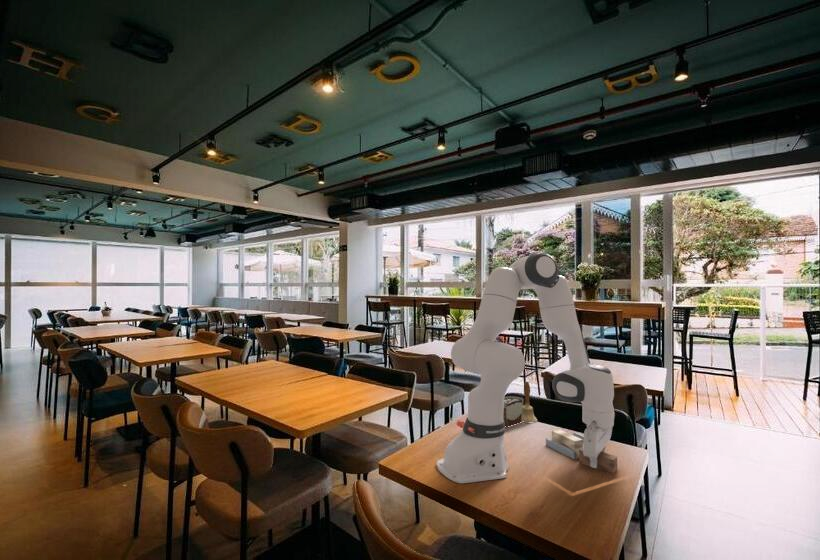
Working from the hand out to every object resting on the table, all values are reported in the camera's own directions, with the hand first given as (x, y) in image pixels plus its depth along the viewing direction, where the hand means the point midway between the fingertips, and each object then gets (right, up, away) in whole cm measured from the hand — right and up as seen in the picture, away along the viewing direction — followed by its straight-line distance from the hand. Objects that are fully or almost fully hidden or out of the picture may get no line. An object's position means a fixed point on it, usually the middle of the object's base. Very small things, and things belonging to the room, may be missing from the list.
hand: (597, 461), depth 120 cm
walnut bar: (0, -2, 0) cm, 2 cm away
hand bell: (-9, -3, +43) cm, 43 cm away
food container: (-18, -2, +38) cm, 42 cm away
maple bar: (-5, -1, +11) cm, 12 cm away
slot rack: (-2, -2, +13) cm, 13 cm away
